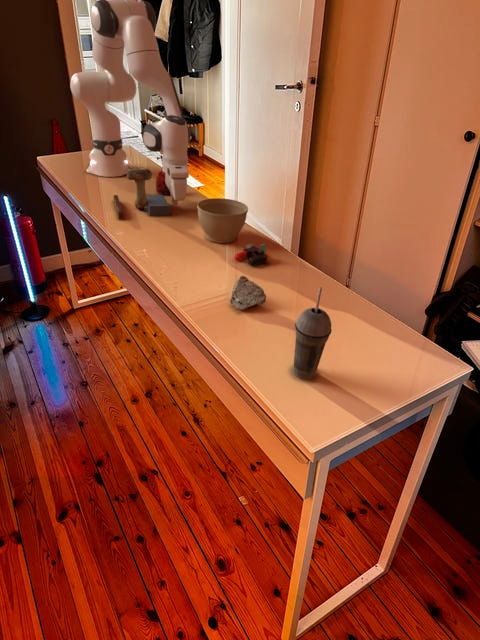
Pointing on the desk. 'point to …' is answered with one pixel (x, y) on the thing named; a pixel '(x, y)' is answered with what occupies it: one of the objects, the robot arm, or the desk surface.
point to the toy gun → (253, 254)
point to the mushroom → (140, 185)
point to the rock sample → (246, 294)
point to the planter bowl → (221, 218)
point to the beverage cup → (310, 340)
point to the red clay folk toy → (161, 182)
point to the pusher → (157, 205)
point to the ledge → (118, 207)
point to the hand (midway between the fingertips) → (174, 204)
